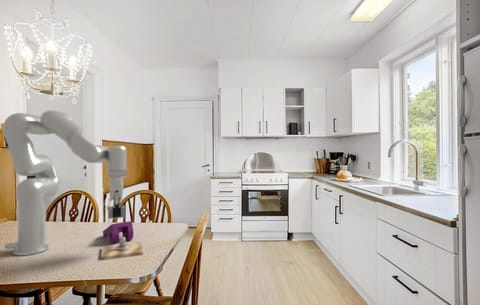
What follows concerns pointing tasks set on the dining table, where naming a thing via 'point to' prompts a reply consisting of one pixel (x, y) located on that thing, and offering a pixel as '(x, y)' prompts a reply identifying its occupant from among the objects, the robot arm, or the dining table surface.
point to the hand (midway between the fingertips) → (116, 214)
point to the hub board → (121, 250)
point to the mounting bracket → (119, 231)
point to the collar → (110, 212)
